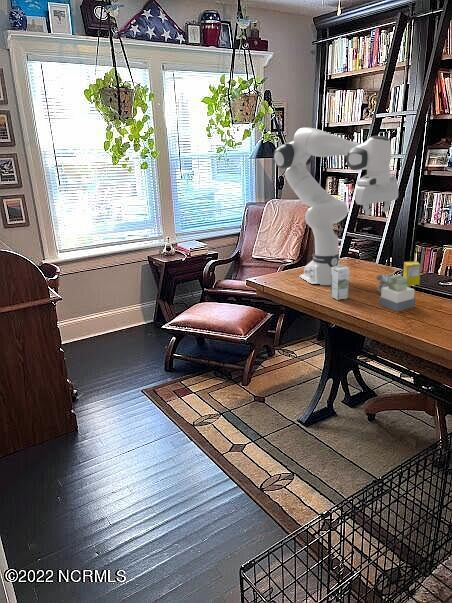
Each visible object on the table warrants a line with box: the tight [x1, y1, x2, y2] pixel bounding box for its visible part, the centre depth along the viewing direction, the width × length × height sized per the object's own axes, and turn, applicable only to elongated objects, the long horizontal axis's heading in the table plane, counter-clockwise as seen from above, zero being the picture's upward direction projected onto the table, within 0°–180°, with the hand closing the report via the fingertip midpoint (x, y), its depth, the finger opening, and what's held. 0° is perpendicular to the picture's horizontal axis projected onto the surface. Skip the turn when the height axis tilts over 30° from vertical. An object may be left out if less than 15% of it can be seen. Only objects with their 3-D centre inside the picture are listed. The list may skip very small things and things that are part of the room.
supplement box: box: [402, 261, 422, 288], centre depth 208 cm, size 6×6×11 cm
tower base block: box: [378, 296, 417, 313], centre depth 187 cm, size 10×10×4 cm
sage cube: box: [388, 274, 407, 292], centre depth 184 cm, size 5×5×5 cm
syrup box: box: [330, 264, 350, 301], centre depth 199 cm, size 6×6×14 cm
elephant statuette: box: [376, 273, 394, 295], centre depth 204 cm, size 9×12×8 cm
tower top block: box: [380, 286, 416, 303], centre depth 186 cm, size 9×9×4 cm
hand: (376, 213), depth 185 cm, fingers open, 8 cm apart
